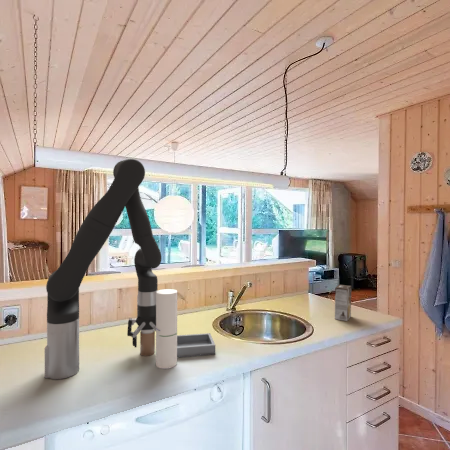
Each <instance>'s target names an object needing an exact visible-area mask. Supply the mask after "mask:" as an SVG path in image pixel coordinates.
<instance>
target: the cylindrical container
mask: <svg viewBox="0 0 450 450" xmlns="http://www.w3.org/2000/svg"><path fill="white" fill-rule="evenodd" d="M177 335H178V290H177V289H172V288H171V289H170V288H165V289H164V288H163V289H159V290H158V291H156V331H155V366H156V368H159V369H171V368H174V367H176V366H177V364H178V358H177Z"/></svg>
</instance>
